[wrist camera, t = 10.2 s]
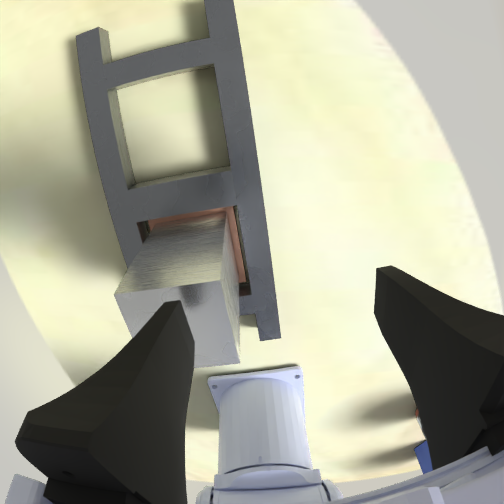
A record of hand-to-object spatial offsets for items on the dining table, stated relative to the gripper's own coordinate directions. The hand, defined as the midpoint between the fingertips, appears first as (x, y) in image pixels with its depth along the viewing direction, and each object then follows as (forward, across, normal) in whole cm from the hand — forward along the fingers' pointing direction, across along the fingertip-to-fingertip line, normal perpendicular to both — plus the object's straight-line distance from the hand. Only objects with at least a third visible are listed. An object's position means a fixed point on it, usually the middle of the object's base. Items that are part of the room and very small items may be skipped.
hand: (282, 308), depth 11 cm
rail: (+10, +4, -2) cm, 11 cm away
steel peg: (+9, +4, +1) cm, 10 cm away
